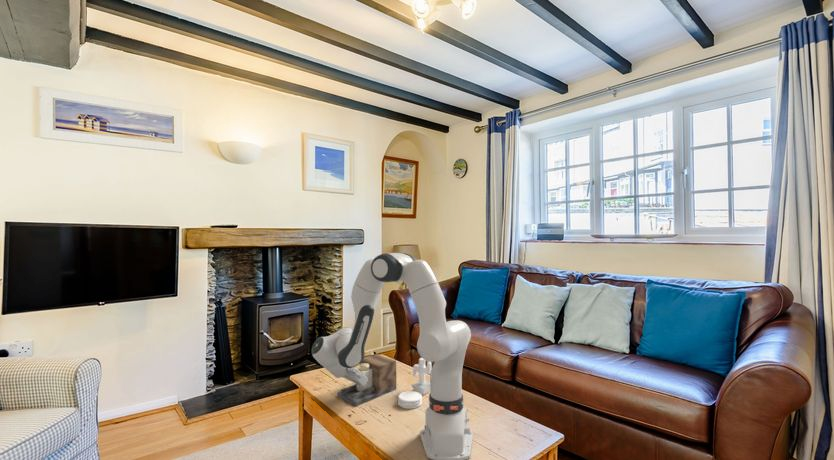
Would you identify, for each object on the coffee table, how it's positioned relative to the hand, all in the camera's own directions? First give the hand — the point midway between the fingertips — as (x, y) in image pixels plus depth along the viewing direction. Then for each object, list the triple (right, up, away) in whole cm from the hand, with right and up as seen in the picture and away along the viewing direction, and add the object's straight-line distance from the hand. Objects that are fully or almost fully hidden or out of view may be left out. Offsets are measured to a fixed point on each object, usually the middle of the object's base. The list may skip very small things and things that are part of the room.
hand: (358, 382), depth 164 cm
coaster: (+23, -6, -8) cm, 25 cm away
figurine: (+28, -6, +3) cm, 29 cm away
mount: (+4, -6, +4) cm, 8 cm away
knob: (+2, -4, +2) cm, 5 cm away
